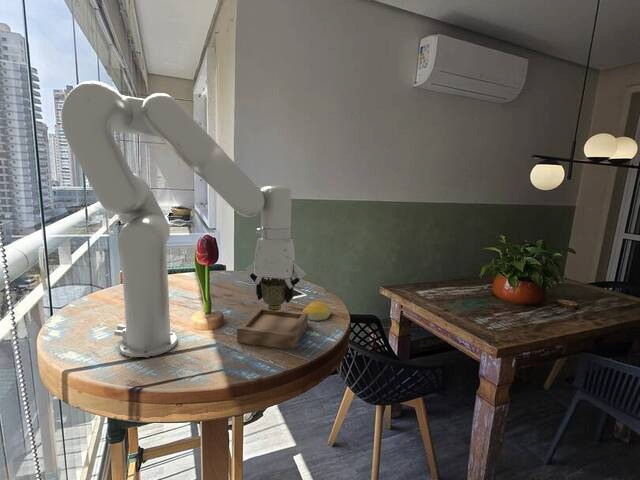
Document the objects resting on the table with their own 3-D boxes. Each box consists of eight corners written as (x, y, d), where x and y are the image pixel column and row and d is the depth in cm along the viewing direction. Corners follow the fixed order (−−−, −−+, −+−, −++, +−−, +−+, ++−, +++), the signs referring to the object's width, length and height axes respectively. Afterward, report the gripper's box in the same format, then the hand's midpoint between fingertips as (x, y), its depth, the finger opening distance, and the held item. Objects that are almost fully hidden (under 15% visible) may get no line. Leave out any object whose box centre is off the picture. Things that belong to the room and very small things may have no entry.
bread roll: (298, 318, 104) (298, 306, 103) (310, 309, 112) (310, 297, 111) (323, 324, 101) (324, 311, 100) (334, 313, 109) (334, 301, 108)
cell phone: (283, 285, 136) (283, 283, 136) (307, 296, 124) (307, 295, 124) (265, 288, 131) (265, 287, 131) (289, 301, 119) (289, 299, 119)
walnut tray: (237, 343, 88) (237, 328, 87) (258, 320, 102) (258, 307, 101) (293, 351, 85) (294, 335, 84) (307, 326, 99) (307, 312, 99)
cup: (261, 303, 95) (262, 276, 94) (288, 304, 96) (289, 276, 95) (259, 314, 88) (259, 284, 87) (287, 314, 89) (288, 285, 87)
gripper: (238, 233, 86) (238, 300, 90) (305, 238, 83) (302, 308, 86) (249, 229, 94) (249, 291, 97) (311, 234, 90) (309, 298, 94)
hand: (274, 299), depth 92 cm, fingers closed on cup, 7 cm apart
